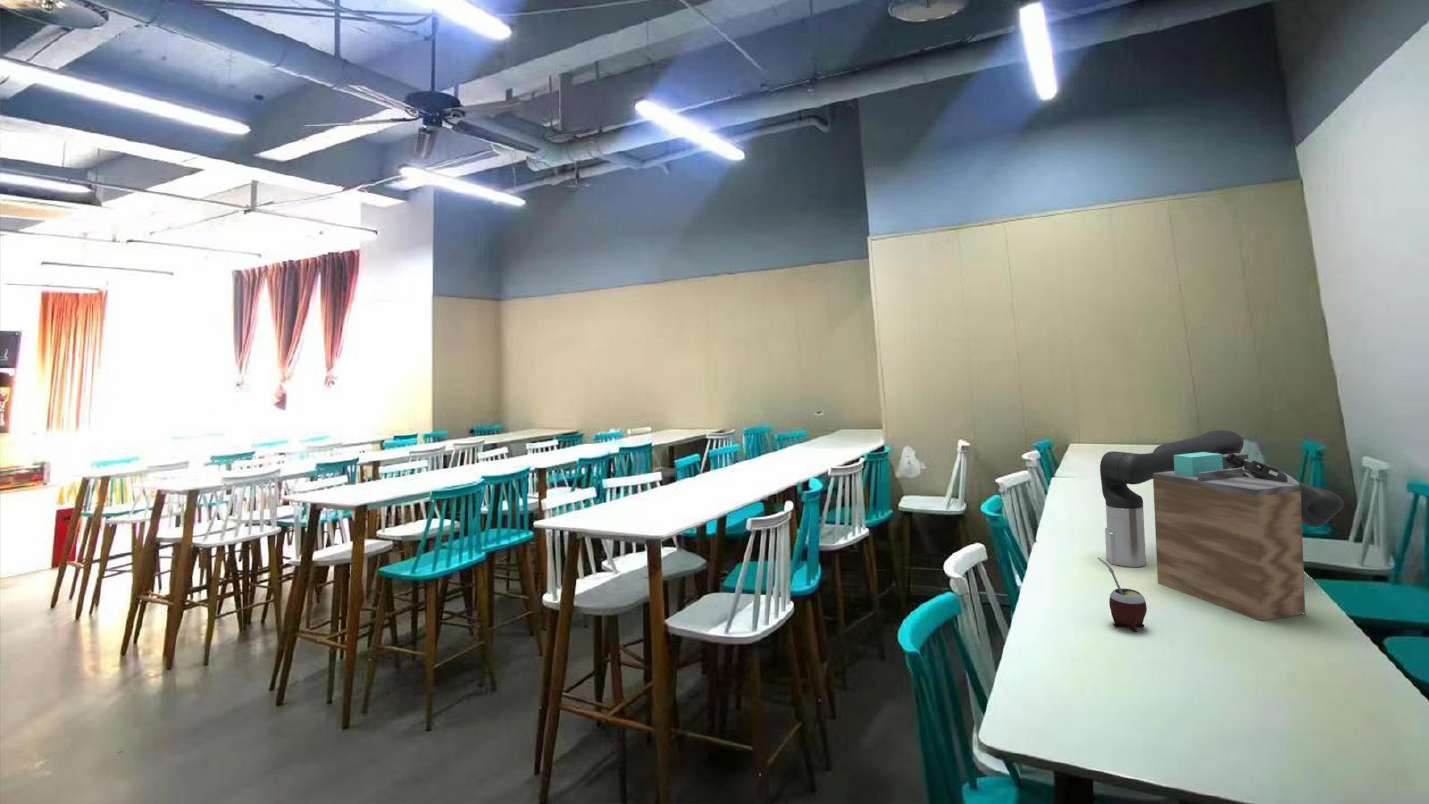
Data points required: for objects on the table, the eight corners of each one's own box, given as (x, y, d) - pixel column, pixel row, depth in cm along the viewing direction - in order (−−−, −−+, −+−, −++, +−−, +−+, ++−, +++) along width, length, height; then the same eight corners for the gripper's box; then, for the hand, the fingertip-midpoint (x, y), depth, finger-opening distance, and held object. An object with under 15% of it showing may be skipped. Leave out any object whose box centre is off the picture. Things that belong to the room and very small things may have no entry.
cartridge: (1232, 467, 157) (1232, 448, 157) (1252, 470, 152) (1251, 451, 152) (1174, 474, 154) (1173, 455, 154) (1192, 476, 149) (1191, 457, 149)
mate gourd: (1154, 633, 131) (1151, 567, 130) (1114, 632, 132) (1111, 567, 132) (1136, 619, 138) (1134, 556, 138) (1099, 619, 140) (1096, 557, 139)
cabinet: (1198, 577, 160) (1193, 461, 159) (1307, 613, 135) (1302, 475, 133) (1157, 583, 158) (1152, 465, 157) (1260, 621, 133) (1255, 481, 132)
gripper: (1249, 466, 163) (1201, 440, 161) (1307, 474, 149) (1256, 445, 147) (1239, 491, 163) (1191, 465, 160) (1296, 500, 149) (1244, 472, 146)
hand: (1222, 456), depth 153 cm, fingers closed on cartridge, 3 cm apart
